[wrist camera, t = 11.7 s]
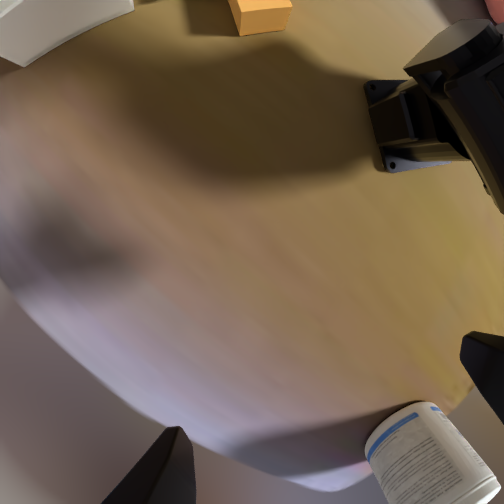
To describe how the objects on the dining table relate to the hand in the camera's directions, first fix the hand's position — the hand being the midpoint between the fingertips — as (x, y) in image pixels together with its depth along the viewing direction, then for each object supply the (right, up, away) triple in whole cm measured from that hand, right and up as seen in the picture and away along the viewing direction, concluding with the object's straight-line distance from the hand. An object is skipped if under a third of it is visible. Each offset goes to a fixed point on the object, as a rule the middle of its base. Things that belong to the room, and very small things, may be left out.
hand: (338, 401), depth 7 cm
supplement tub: (+14, -15, +17) cm, 27 cm away
